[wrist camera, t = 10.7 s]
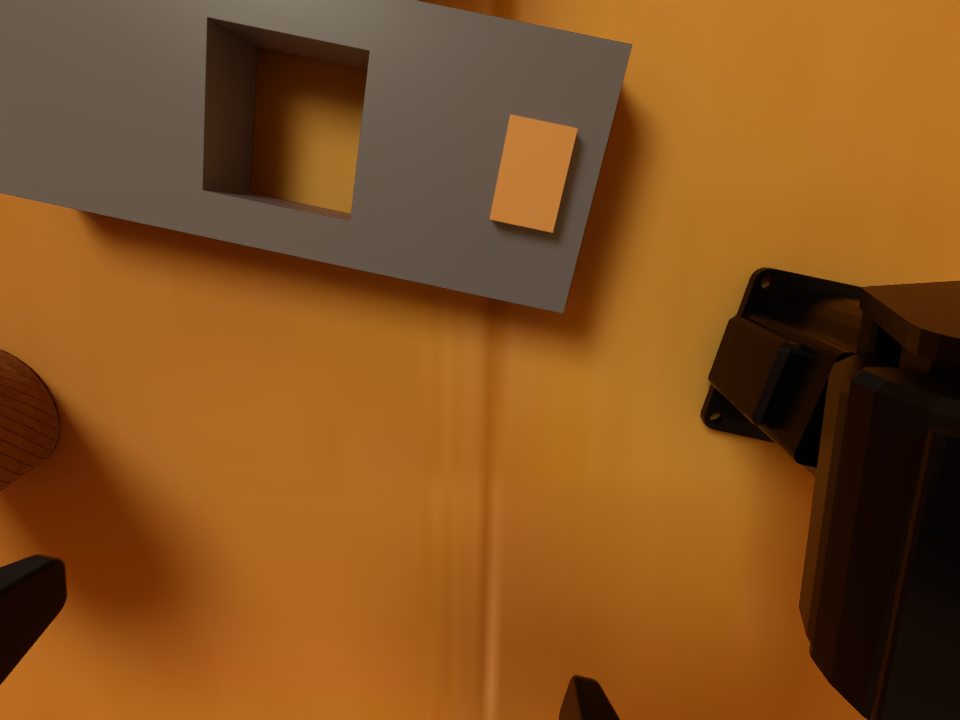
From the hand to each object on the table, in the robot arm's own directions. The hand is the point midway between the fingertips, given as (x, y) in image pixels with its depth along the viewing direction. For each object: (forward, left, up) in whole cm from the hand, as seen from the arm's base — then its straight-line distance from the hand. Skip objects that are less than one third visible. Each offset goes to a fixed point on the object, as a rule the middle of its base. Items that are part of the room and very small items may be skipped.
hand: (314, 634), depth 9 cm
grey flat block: (+6, -9, -13) cm, 17 cm away
